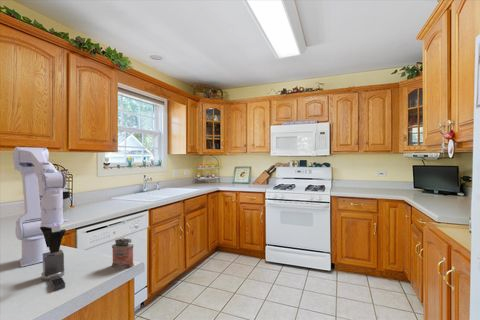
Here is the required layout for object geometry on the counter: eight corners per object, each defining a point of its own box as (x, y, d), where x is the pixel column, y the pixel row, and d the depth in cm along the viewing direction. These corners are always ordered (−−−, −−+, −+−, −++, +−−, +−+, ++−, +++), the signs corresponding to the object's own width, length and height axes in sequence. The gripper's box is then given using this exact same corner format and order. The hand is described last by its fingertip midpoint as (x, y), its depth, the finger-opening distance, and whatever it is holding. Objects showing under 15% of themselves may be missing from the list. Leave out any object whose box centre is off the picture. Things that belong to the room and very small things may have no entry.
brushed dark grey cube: (42, 271, 80) (42, 253, 80) (61, 266, 83) (61, 249, 83) (44, 276, 76) (44, 257, 76) (64, 271, 80) (63, 253, 80)
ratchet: (40, 276, 80) (40, 264, 80) (62, 270, 84) (62, 258, 84) (46, 293, 69) (46, 279, 69) (71, 285, 73) (71, 272, 73)
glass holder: (73, 210, 190) (73, 191, 190) (55, 214, 176) (55, 194, 176) (64, 210, 192) (64, 191, 192) (46, 214, 178) (46, 193, 178)
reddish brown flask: (109, 267, 86) (109, 239, 86) (116, 263, 89) (115, 236, 89) (130, 268, 84) (129, 240, 84) (135, 264, 88) (135, 237, 88)
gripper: (71, 209, 77) (71, 251, 77) (62, 204, 88) (63, 241, 88) (43, 213, 72) (43, 258, 72) (37, 207, 83) (38, 246, 83)
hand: (52, 249), depth 80 cm, fingers open, 7 cm apart
